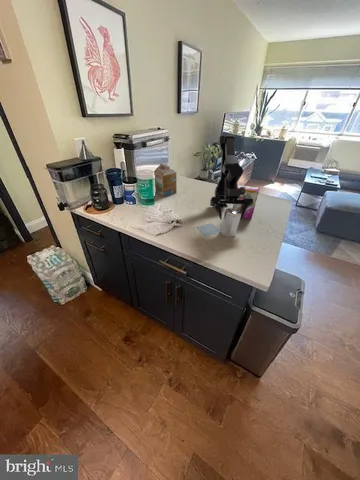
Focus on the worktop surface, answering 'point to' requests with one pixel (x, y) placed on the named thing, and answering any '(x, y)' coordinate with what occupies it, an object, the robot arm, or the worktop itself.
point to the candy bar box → (251, 193)
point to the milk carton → (165, 180)
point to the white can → (230, 222)
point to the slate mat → (208, 229)
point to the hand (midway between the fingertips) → (231, 219)
